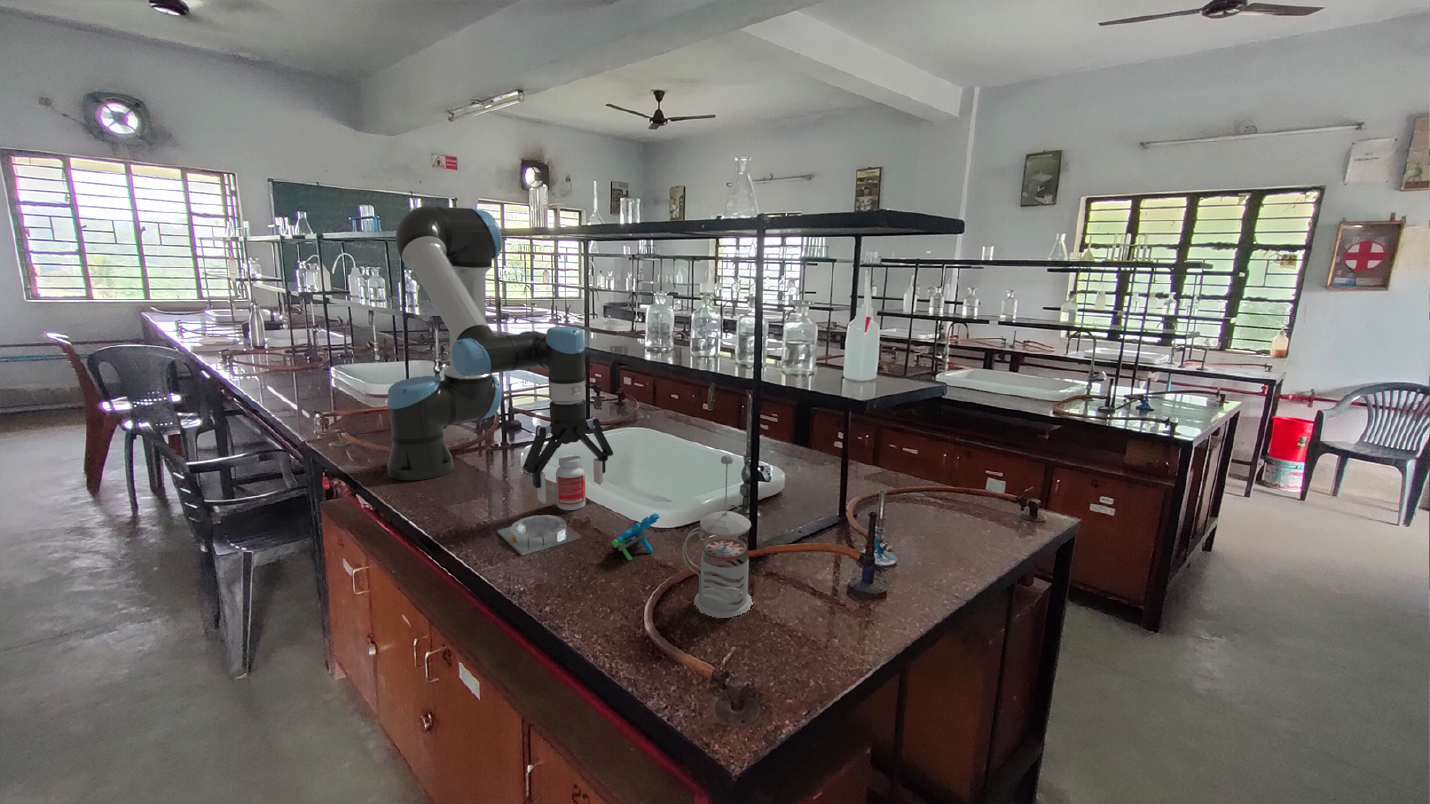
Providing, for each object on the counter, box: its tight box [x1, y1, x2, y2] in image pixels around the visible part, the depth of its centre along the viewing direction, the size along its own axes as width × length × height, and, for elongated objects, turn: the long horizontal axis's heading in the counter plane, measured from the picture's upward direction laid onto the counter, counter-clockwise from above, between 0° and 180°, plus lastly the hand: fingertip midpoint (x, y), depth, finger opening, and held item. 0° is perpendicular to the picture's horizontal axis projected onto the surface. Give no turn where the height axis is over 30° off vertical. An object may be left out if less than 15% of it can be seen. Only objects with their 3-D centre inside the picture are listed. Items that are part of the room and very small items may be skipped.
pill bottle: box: [555, 454, 586, 511], centre depth 137 cm, size 6×6×11 cm
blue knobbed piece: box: [611, 512, 660, 562], centre depth 118 cm, size 11×6×10 cm
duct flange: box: [497, 514, 582, 557], centre depth 123 cm, size 12×12×2 cm
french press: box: [682, 454, 754, 619], centre depth 99 cm, size 10×12×25 cm
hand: (571, 494), depth 138 cm, fingers open, 13 cm apart
